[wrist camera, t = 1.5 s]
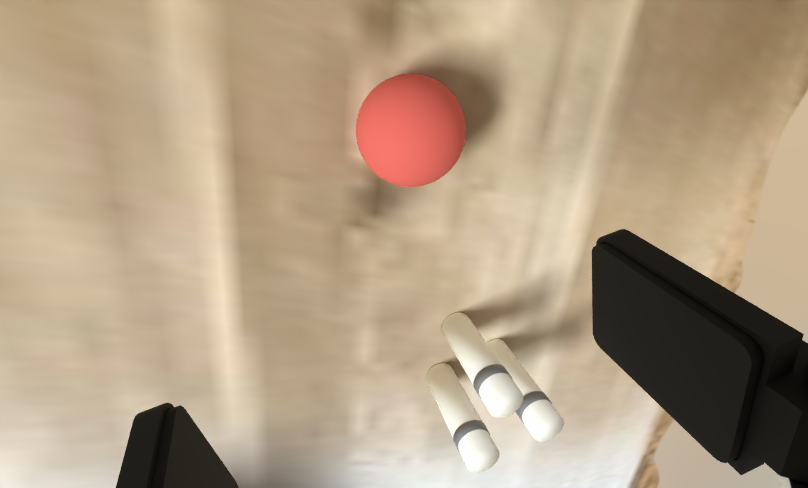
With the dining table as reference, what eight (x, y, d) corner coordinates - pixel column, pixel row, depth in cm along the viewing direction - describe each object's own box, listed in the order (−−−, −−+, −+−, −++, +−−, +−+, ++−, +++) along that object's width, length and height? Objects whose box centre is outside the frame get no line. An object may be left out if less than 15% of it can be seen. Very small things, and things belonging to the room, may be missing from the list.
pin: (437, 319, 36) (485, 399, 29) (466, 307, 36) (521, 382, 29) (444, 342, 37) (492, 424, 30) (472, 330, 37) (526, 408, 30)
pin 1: (421, 370, 38) (462, 456, 30) (449, 358, 38) (496, 440, 31) (429, 390, 39) (470, 478, 32) (455, 378, 39) (502, 462, 32)
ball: (332, 87, 26) (352, 107, 21) (429, 53, 27) (472, 64, 22) (365, 182, 29) (390, 219, 24) (451, 148, 30) (493, 178, 25)
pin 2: (476, 345, 38) (530, 425, 31) (503, 334, 39) (562, 409, 31) (482, 366, 40) (534, 447, 32) (508, 354, 40) (566, 432, 33)
